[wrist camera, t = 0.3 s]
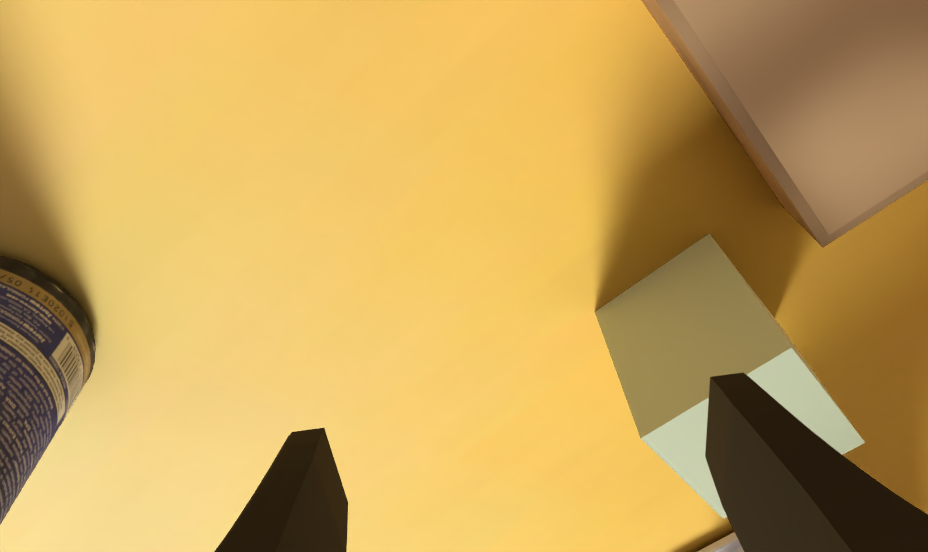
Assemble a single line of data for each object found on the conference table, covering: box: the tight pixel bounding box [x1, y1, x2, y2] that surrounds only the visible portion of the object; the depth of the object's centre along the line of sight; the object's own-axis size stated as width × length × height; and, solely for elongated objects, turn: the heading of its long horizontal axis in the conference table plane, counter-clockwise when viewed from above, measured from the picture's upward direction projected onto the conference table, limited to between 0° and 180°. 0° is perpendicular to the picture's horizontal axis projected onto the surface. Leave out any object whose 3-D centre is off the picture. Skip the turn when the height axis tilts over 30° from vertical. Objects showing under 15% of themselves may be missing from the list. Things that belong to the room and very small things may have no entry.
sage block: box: [595, 233, 865, 519], centre depth 22 cm, size 4×4×6 cm
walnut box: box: [642, 0, 928, 247], centre depth 18 cm, size 9×9×3 cm
